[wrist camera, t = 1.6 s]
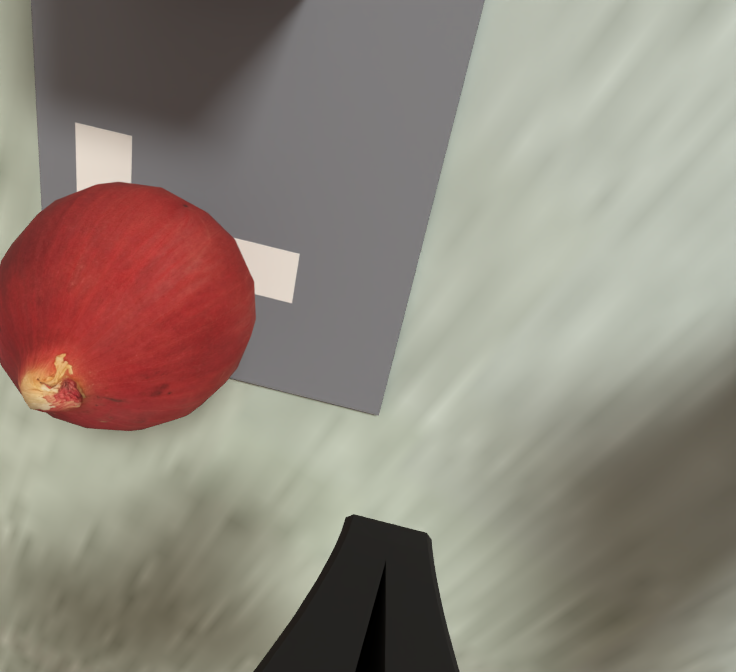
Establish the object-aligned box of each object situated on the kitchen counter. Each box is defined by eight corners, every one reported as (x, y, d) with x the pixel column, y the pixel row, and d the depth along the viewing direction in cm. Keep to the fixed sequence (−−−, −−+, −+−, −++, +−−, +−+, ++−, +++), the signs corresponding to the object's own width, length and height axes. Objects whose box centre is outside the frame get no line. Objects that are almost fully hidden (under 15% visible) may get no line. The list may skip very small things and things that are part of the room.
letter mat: (574, -349, 13) (575, -354, 12) (379, 411, 22) (378, 415, 21) (13, -468, 13) (5, -474, 13) (51, 329, 22) (47, 332, 22)
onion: (201, 370, 22) (67, 562, 15) (57, 239, 20) (-168, 384, 13) (328, 262, 19) (239, 432, 12) (175, 104, 18) (-26, 193, 11)
